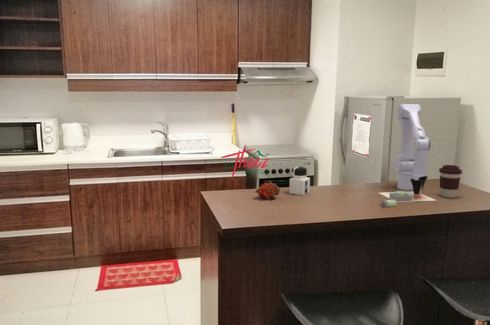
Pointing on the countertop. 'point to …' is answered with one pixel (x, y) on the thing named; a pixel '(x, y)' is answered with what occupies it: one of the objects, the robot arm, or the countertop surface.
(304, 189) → the container
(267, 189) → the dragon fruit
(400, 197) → the white sorting board
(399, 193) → the button
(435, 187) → the countertop surface
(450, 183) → the coffee cup
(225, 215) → the countertop surface
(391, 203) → the sage marker lying
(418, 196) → the cylinder
